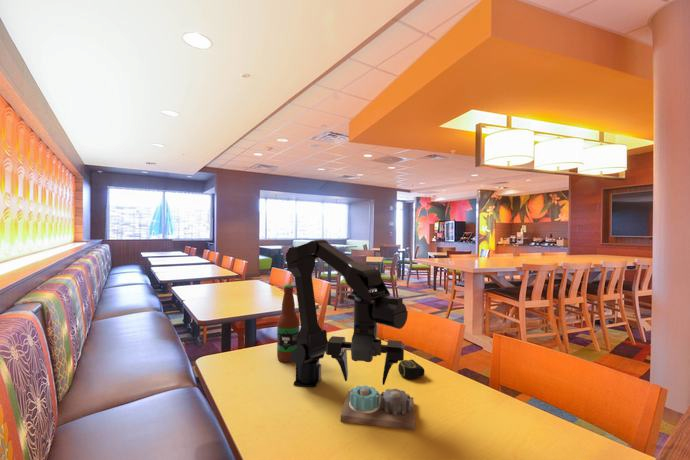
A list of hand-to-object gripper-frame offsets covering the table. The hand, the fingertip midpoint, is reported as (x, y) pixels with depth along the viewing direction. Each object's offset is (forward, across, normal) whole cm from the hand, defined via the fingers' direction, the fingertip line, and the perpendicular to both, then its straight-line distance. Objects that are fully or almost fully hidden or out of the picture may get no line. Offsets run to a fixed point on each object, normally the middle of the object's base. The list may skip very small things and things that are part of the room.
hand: (364, 382), depth 79 cm
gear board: (+7, +4, 0) cm, 8 cm away
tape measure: (+7, +12, +22) cm, 26 cm away
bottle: (+7, -29, +26) cm, 39 cm away
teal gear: (+5, 0, 0) cm, 5 cm away
